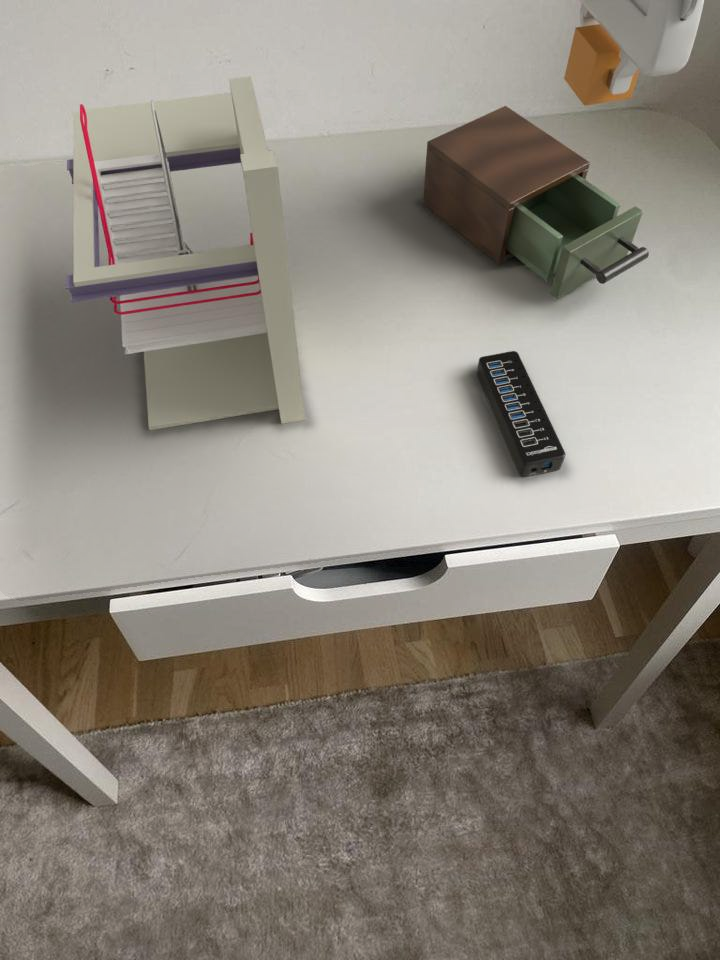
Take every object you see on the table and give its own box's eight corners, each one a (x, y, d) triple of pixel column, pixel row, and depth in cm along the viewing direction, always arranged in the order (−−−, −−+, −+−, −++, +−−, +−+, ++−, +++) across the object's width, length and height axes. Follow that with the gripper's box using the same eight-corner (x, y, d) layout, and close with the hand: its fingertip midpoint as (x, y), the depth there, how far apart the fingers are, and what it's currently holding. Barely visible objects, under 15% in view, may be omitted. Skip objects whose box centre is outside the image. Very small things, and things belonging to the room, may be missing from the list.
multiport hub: (513, 364, 84) (516, 349, 82) (562, 469, 77) (567, 456, 75) (475, 371, 84) (477, 356, 82) (520, 478, 76) (524, 465, 74)
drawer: (650, 277, 90) (670, 229, 85) (581, 319, 87) (596, 272, 81) (547, 201, 98) (558, 153, 92) (479, 237, 94) (486, 189, 89)
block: (609, 71, 77) (623, 20, 73) (631, 98, 75) (647, 46, 71) (563, 78, 77) (575, 27, 73) (584, 106, 74) (597, 54, 70)
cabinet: (573, 223, 97) (590, 162, 90) (498, 264, 93) (510, 203, 86) (495, 167, 104) (505, 105, 96) (422, 203, 100) (427, 141, 92)
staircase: (121, 269, 93) (30, 7, 68) (269, 248, 95) (234, -14, 70) (129, 448, 78) (18, 199, 53) (304, 419, 80) (277, 166, 55)
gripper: (746, -43, 58) (682, 127, 69) (627, -145, 69) (588, 17, 80) (670, -33, 57) (618, 138, 68) (561, -137, 68) (532, 25, 79)
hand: (601, 72), depth 74 cm, fingers closed on block, 5 cm apart
